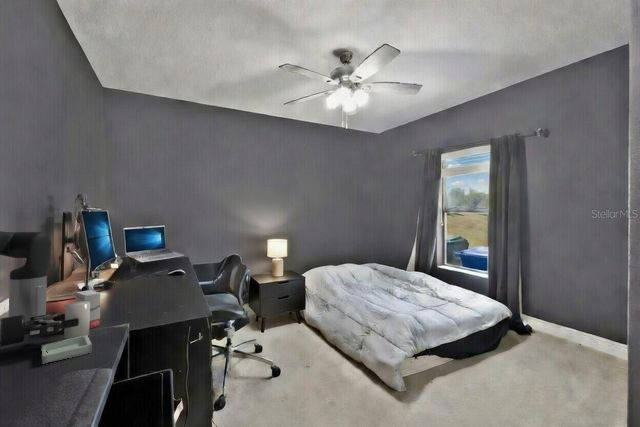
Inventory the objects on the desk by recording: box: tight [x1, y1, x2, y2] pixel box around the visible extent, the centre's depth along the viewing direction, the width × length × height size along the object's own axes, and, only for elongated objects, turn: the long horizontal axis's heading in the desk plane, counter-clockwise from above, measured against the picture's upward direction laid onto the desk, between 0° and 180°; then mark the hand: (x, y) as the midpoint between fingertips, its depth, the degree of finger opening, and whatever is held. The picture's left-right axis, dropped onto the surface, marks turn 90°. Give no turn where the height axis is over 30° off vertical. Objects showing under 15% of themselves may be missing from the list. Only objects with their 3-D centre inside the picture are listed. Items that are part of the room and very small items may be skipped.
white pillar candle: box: [63, 301, 90, 340], centre depth 90 cm, size 6×6×11 cm
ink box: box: [75, 289, 101, 329], centre depth 101 cm, size 9×5×12 cm, turn 58°
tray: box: [41, 335, 93, 365], centre depth 80 cm, size 10×10×2 cm
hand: (77, 318), depth 89 cm, fingers open, 8 cm apart
